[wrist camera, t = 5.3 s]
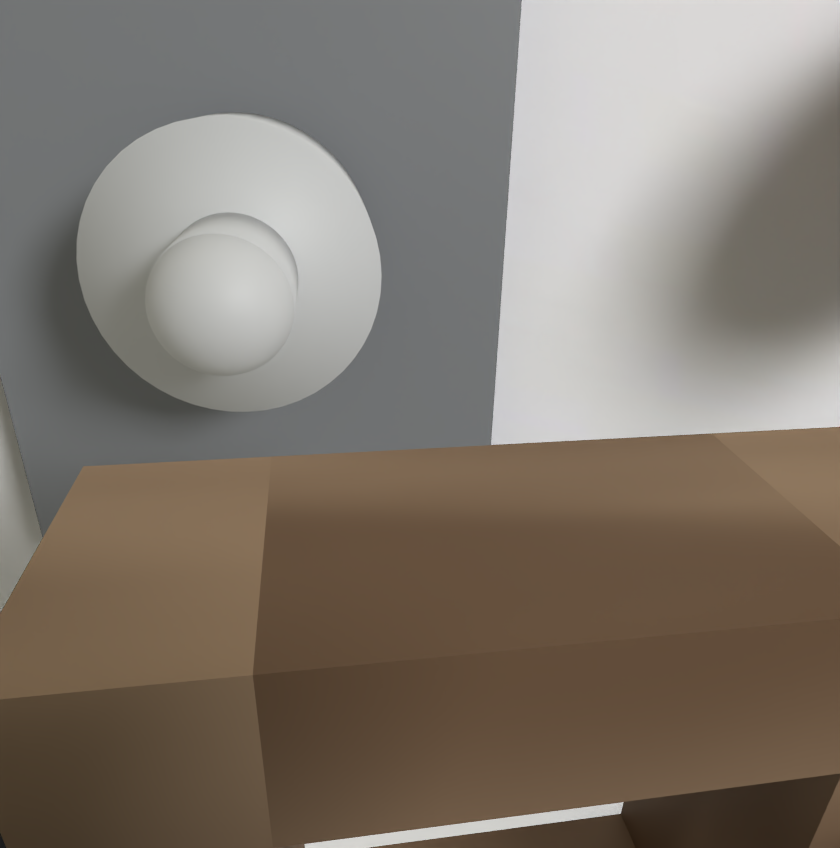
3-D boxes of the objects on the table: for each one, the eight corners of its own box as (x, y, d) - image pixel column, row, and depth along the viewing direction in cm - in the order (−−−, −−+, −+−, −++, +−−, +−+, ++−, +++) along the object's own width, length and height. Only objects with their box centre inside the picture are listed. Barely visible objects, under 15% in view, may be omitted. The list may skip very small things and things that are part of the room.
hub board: (474, 497, 21) (546, 682, 15) (64, 519, 20) (-65, 738, 13) (514, -159, 14) (683, -377, 8) (-111, -201, 13) (-571, -514, 6)
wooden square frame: (705, 868, 10) (817, 1089, 8) (191, 945, 9) (155, 1222, 7) (858, 426, 7) (1117, 591, 4) (82, 465, 6) (-51, 702, 3)
